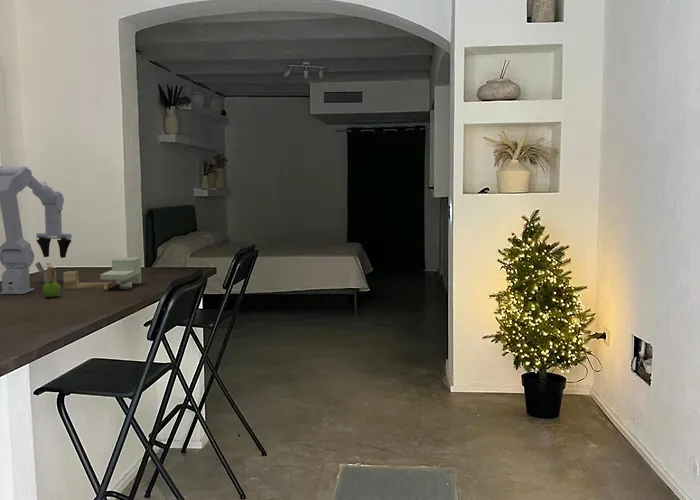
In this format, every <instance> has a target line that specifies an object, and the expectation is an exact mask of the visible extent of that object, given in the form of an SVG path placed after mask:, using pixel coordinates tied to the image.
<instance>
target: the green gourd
mask: <svg viewBox="0 0 700 500" xmlns="http://www.w3.org/2000/svg"><path fill="white" fill-rule="evenodd" d="M51 264H52V263H49V262H47V263H46V265H47V267H46V271H47V270H48V280H49V282H47V283H44V285H43V287H42V292H43V293H44V295H45V297H48V298H54V297H57V296H58V295H59V294H60V293H61V286H60V283H58V281H56V282H54V276H55V271H56V270H55V268H54V267H53V266H51Z"/></svg>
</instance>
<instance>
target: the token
mask: <svg viewBox="0 0 700 500" xmlns="http://www.w3.org/2000/svg"><path fill="white" fill-rule="evenodd" d="M119 283H120V284H119V289H120V290H130V289H133V284H132V281H121V282H119Z"/></svg>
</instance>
